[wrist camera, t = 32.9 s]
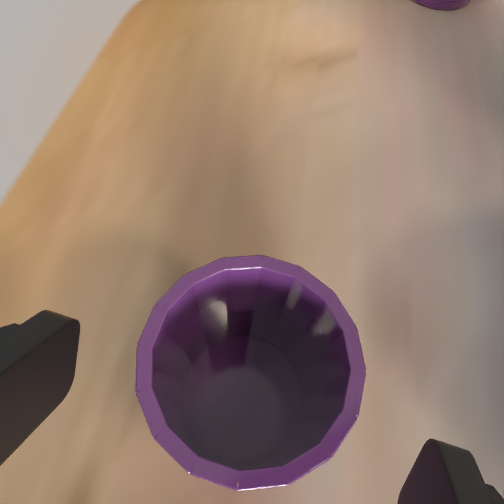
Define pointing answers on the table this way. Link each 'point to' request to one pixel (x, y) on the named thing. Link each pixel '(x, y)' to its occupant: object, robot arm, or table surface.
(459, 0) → the plum cup
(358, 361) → the plum cup
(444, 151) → the table surface
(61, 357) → the robot arm
